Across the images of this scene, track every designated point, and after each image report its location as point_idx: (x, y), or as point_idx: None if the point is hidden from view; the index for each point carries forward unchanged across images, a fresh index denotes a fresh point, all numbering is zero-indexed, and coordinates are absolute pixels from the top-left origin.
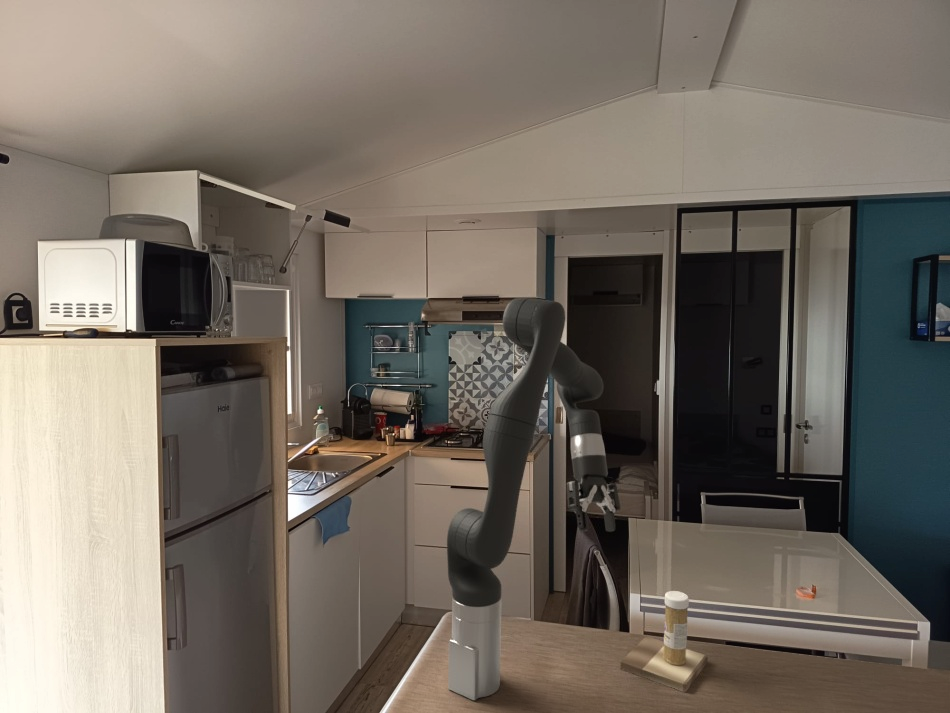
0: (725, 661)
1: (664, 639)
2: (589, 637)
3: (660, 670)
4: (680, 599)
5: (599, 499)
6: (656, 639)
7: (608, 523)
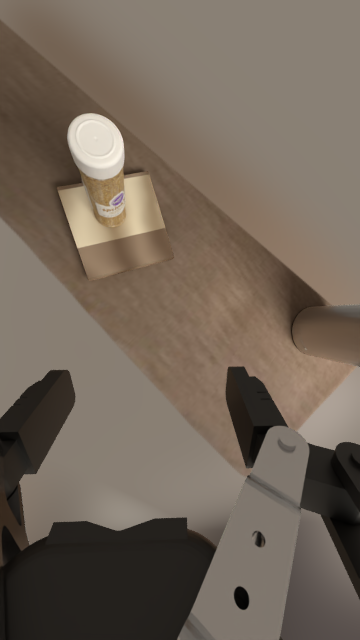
0: (31, 177)
1: (122, 208)
2: (147, 337)
3: (147, 210)
4: (107, 121)
5: (86, 546)
6: (83, 263)
7: (57, 409)
